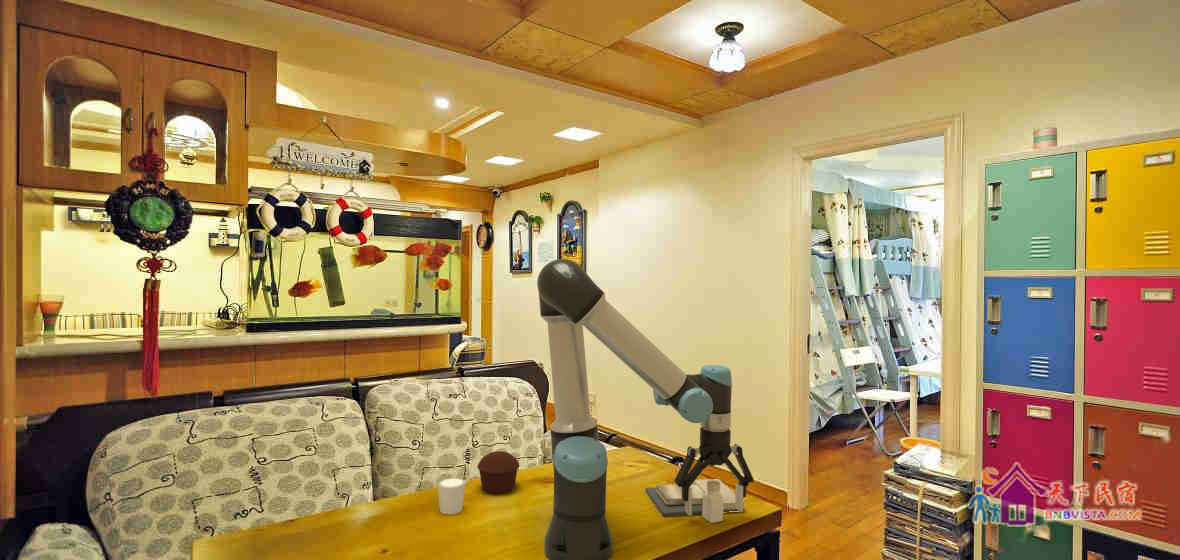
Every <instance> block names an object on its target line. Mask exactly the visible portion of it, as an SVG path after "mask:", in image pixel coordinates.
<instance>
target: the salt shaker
mask: <svg viewBox="0 0 1180 560" xmlns="http://www.w3.org/2000/svg"><path fill="white" fill-rule="evenodd" d="M719 492H720V482H719V481H716V480H709V481H707V493H705V494H703V510H702V518H703V519H704V518H705V519H704V520H706V521H707V520H708V521H709V522H708V521H707V522H708V523H709V524H715V523H719V522H720V521H721V522H723V520H724V513H723V502H724V499H723V497H722V496H721V495H720V494H719ZM721 522H720V523H721Z"/></svg>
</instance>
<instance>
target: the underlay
mask: <svg viewBox="0 0 1180 560" xmlns="http://www.w3.org/2000/svg"><path fill="white" fill-rule="evenodd" d="M709 480H716V481H719V482H720V492H719V494H720V495H721V496H722V497H723V499H724V502H723V512H729V511H738V510H737V509H736V508H735V493H734V491H733V490H732V489H730V488H729V487H728V486H727V485H726V484H725V483H724V482H723V481H721V480H720V478H715V479H714V478H713V479H712V478H711V479H696V480H695V481H694V482H693V485H698V486H699V487H700V488H701V489H702V490H703V491H704V493H707V481H709ZM644 491H645V493H646V495H647V494H648V495H647V496H648V498H649V497H650V498H649V499H650V500H651V502H652V501H653V502H652V503H653V504H655V505H654V506H655V508H656V509H657V510H658V511H659V513H660V515H661V514H662V515H661V517H663V518H667V517H666V516H672V517H681V516H680V515H688V514H687V513H686V512H685V504H681V505H666V504H665V502H664V501H663V500H662V498H661V497H660V496H659V494H658V493H657V492H656V487H645V490H644ZM702 510H703V504H692V514H702ZM743 511H744V512H745V501H743ZM688 516H689V515H688Z"/></svg>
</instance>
